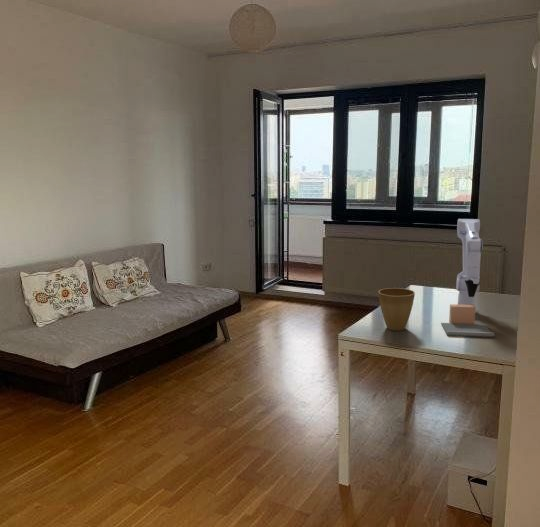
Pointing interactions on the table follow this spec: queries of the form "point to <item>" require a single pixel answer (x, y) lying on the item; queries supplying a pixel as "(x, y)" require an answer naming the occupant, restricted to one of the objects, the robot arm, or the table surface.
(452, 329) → the mat
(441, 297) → the table surface
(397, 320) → the plant pot
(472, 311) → the terracotta block
